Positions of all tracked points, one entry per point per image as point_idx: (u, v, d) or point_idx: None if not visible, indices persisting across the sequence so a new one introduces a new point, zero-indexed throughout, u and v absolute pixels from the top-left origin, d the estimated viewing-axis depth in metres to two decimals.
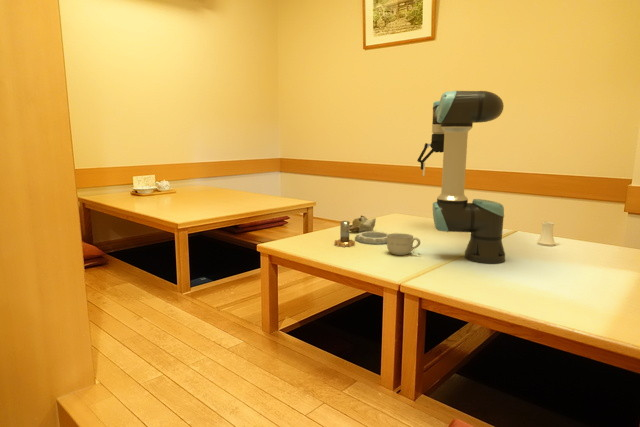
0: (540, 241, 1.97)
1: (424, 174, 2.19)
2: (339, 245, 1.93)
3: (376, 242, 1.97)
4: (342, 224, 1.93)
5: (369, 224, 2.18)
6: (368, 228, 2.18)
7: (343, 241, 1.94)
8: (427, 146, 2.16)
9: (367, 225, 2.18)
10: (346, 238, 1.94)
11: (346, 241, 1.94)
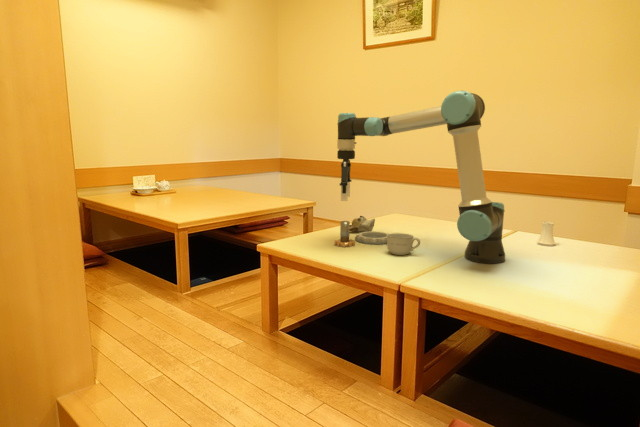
0: (540, 241, 1.97)
1: None
2: (339, 245, 1.93)
3: (376, 242, 1.97)
4: (342, 224, 1.93)
5: (368, 224, 2.17)
6: (367, 228, 2.18)
7: (343, 241, 1.94)
8: None
9: (366, 225, 2.18)
10: (346, 238, 1.94)
11: (346, 241, 1.94)
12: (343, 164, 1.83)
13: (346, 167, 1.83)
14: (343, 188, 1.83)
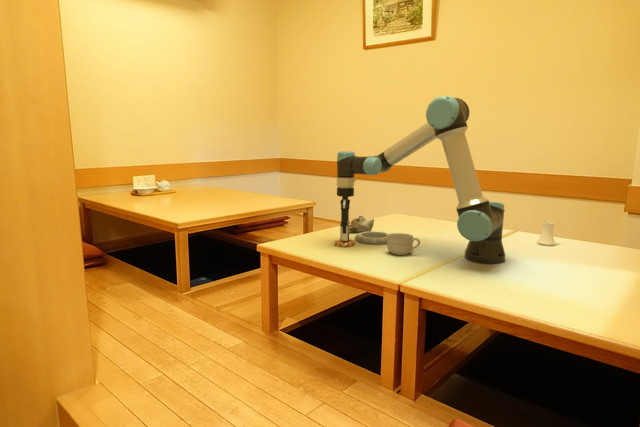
0: (540, 241, 1.97)
1: None
2: (339, 245, 1.93)
3: (376, 242, 1.97)
4: None
5: (367, 224, 2.17)
6: (366, 228, 2.17)
7: (343, 241, 1.94)
8: None
9: (365, 225, 2.17)
10: None
11: (346, 241, 1.94)
12: (343, 206, 1.87)
13: (345, 209, 1.87)
14: (343, 228, 1.91)
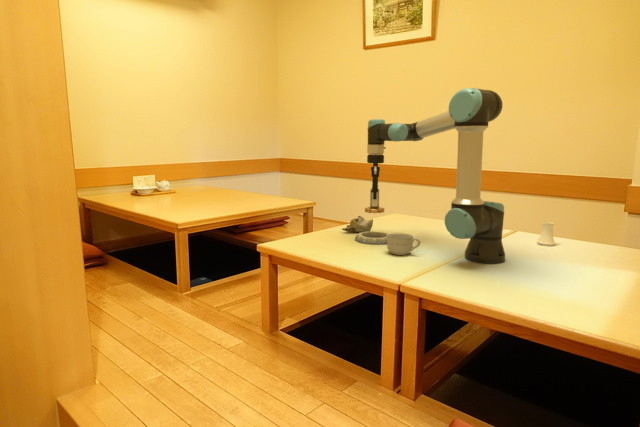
0: (540, 241, 1.97)
1: None
2: (369, 211, 1.99)
3: (376, 242, 1.97)
4: None
5: (365, 225, 2.16)
6: (364, 229, 2.17)
7: (373, 208, 2.00)
8: None
9: (363, 226, 2.17)
10: None
11: (376, 208, 2.00)
12: (374, 172, 1.93)
13: (377, 175, 1.93)
14: (374, 194, 1.97)
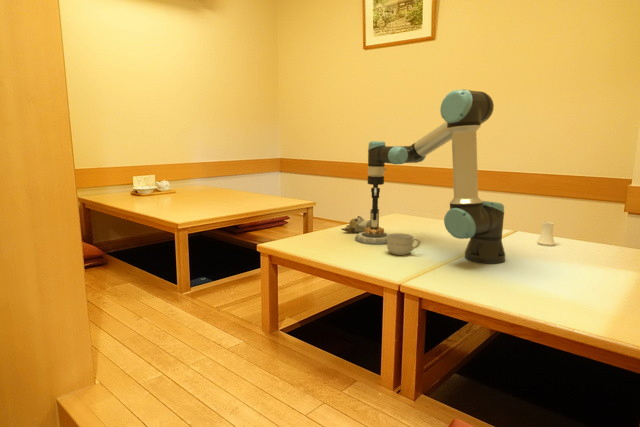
0: (540, 241, 1.97)
1: None
2: (369, 232, 2.01)
3: (376, 242, 1.97)
4: None
5: (364, 225, 2.16)
6: (363, 229, 2.16)
7: (373, 228, 2.02)
8: None
9: (362, 226, 2.16)
10: None
11: (376, 228, 2.02)
12: (374, 194, 1.95)
13: (376, 196, 1.95)
14: (374, 215, 1.99)
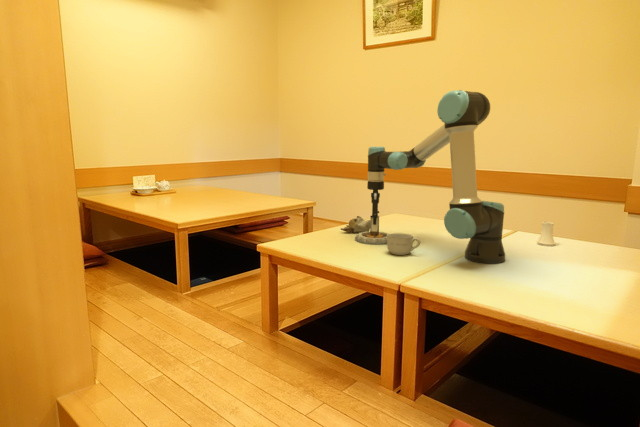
0: (540, 241, 1.97)
1: None
2: None
3: (376, 242, 1.97)
4: None
5: (364, 225, 2.16)
6: (363, 229, 2.16)
7: (373, 235, 2.03)
8: None
9: (362, 226, 2.16)
10: (376, 232, 2.02)
11: (376, 235, 2.03)
12: (374, 197, 1.95)
13: (376, 200, 1.95)
14: (374, 220, 1.97)
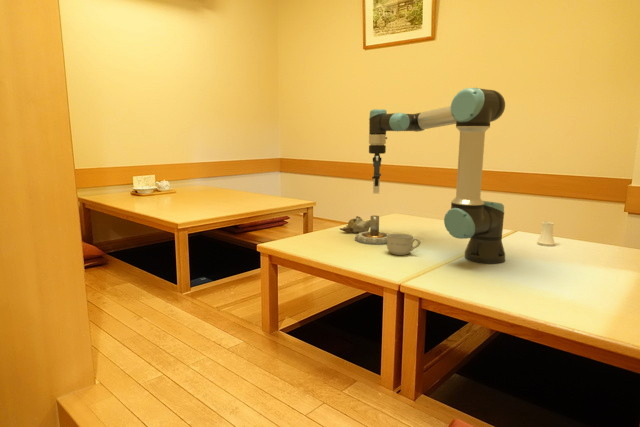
0: (540, 241, 1.97)
1: None
2: None
3: (376, 242, 1.97)
4: (372, 218, 2.02)
5: (362, 225, 2.15)
6: (361, 229, 2.16)
7: (373, 235, 2.03)
8: None
9: (360, 226, 2.16)
10: (376, 232, 2.02)
11: (376, 235, 2.03)
12: (376, 158, 1.92)
13: (378, 161, 1.92)
14: (375, 181, 1.92)
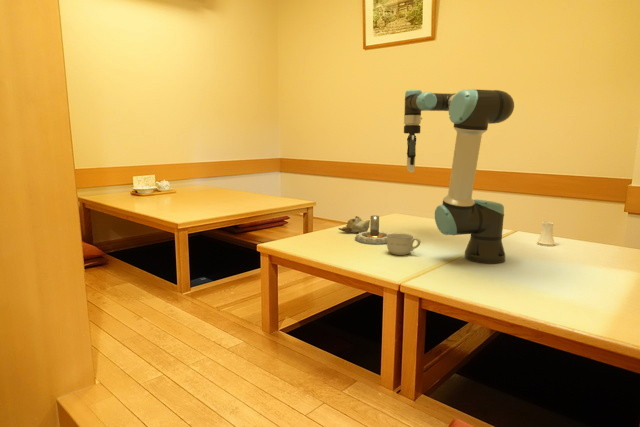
0: (540, 241, 1.97)
1: None
2: None
3: (376, 242, 1.97)
4: (372, 218, 2.02)
5: (361, 225, 2.15)
6: (360, 229, 2.15)
7: (373, 235, 2.03)
8: (408, 138, 2.09)
9: (359, 226, 2.15)
10: (376, 232, 2.02)
11: (376, 235, 2.03)
12: (411, 138, 1.97)
13: (414, 140, 1.97)
14: (411, 160, 1.97)
